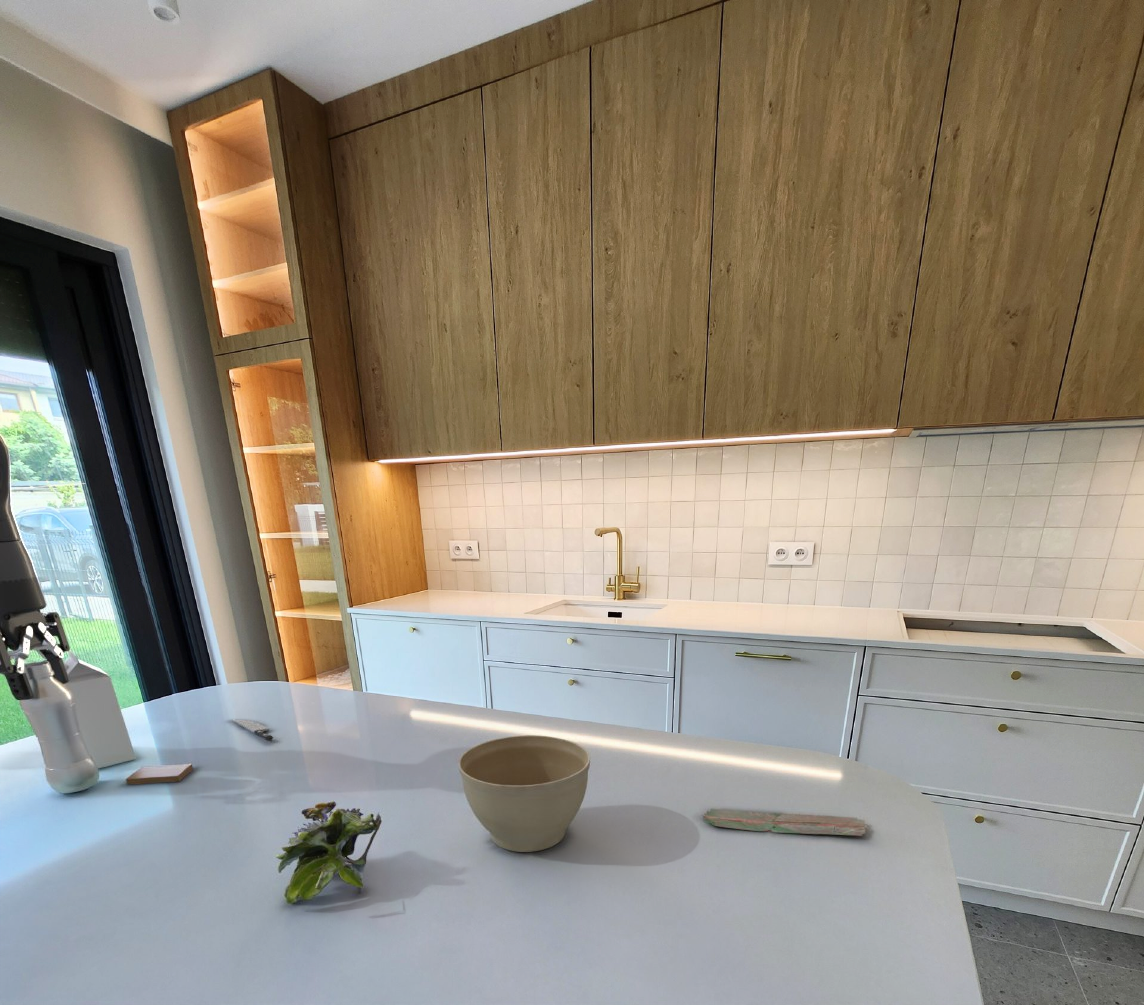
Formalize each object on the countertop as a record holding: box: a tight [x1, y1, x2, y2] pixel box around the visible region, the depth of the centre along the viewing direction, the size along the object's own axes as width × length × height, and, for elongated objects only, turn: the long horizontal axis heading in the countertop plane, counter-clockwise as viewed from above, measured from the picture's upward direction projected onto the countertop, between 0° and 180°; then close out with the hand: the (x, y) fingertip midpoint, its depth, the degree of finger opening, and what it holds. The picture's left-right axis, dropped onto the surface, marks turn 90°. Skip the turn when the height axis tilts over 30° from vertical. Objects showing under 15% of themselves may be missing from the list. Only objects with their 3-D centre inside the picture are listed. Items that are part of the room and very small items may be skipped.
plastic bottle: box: [18, 660, 100, 794], centre depth 98 cm, size 6×7×20 cm
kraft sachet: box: [125, 763, 194, 786], centre depth 105 cm, size 8×5×1 cm, turn 95°
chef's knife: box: [232, 719, 274, 742], centre depth 125 cm, size 19×1×3 cm
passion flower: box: [275, 801, 382, 905], centre depth 74 cm, size 11×11×12 cm
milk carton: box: [63, 649, 137, 770], centre depth 109 cm, size 7×7×19 cm
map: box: [700, 808, 868, 837], centre depth 84 cm, size 5×20×1 cm, turn 77°
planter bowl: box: [457, 734, 591, 853], centre depth 82 cm, size 16×16×11 cm
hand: (43, 691), depth 96 cm, fingers open, 7 cm apart
